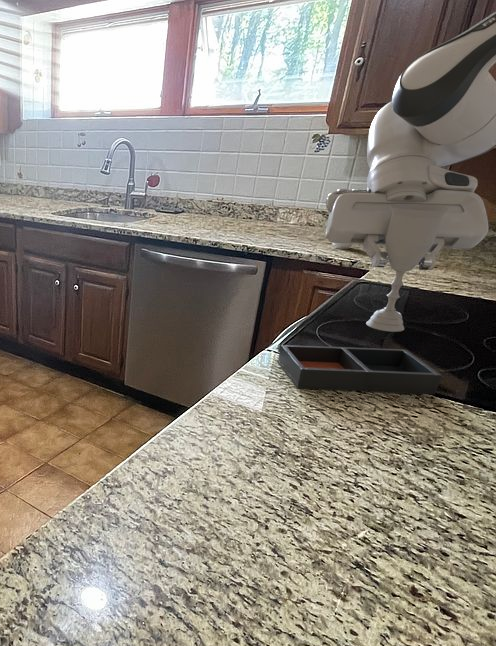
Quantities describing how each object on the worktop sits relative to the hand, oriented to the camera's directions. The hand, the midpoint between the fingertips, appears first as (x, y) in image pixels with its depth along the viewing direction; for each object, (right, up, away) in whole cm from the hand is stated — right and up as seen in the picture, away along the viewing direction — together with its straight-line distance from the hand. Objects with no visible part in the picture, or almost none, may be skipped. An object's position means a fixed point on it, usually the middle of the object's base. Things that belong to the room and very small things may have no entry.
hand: (403, 266), depth 77 cm
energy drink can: (+62, +27, +114) cm, 133 cm away
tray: (+2, -17, +15) cm, 23 cm away
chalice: (0, -9, +4) cm, 10 cm away
